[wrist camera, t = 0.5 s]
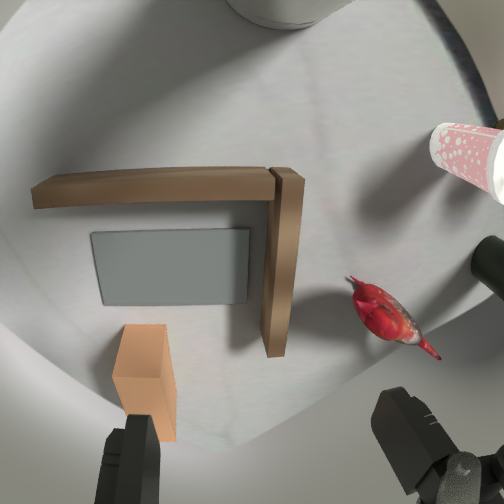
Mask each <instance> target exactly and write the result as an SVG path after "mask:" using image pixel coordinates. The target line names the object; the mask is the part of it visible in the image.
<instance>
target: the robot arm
mask: <svg viewBox="0 0 504 504" xmlns="http://www.w3.org/2000/svg"><path fill="white" fill-rule="evenodd" d="M226 1H227V2H228V3H229V5H230V6H231V7H232V8H233V9H234V10H235V11H236V12H237V13H239V14H240V15H241V16H242V17H244V18H246V19H248V20H249V21H251V22H253V23H255V24H258V25H261V26H264V27H267V28H272V29H277V30H295V29H301V28H305V27H308V26H311V25H314V24H315V23H317V22H319V21H320V20H322V19H324V18H325V17H327V16H328V15H330V14H332V13H333V12H335V11H337V10H339V9H341V8H342V7H344V6H346V5H347V4H349V3H351V2H352V1H354V0H226ZM371 428H372V431H373V433H374V435H375V437H376V439H377V440H378V442H379V444H380V446H381V448H382V450H383V451H384V453H385V455H386V457H387V459H388V461H389V463H390V464H391V466H392V468H393V470H394V472H395V474H396V476H397V477H398V480H399V482H400V483H401V485H402V487H403V489H404V491H405V493H406V495H410V494H412V493H414V492H418V493H419V495H420V496H419V497H418V499H417V502H416V504H504V499H503V498H502V496H501V494H500V492H499V491H500V490H501V489H502V488H503V489H504V445H503V446H501V447H500V448H499V450H498V451H497V452H496V453H495V454H492V455H487V456H481V457H476V456H475V455H474V454H472V453H470V452H466V451H459V450H458V449H457V447H456V446H455V444H454V443H453V442H452V440H451V439H450V437H449V436H448V434H447V433H446V432H445V430H444V429H443V427H442V426H441V425H440V423H438V422H437V419H436V418H435V416H434V415H432V412H431V411H430V410H429V408H428V407H427V406H426V404H425V403H423V402H422V401H420V400H419V399H418V398H416V397H415V396H414V397H410V395H409V394H408V393H407V391H406V390H405V389H404V388H403V387H396V388H392V389H389V390H384V391H382V392H381V394H380V396H379V399H378V401H377V404H376V407H375V410H374V412H373V414H372V417H371ZM101 463H102V466H101V468H100V473H99V479H98V484H97V490H96V497H95V502H94V504H159V478H160V443H159V439H158V436H157V433H156V429H155V426H154V423H153V419H152V416H151V415H144V414H128V416H127V420H126V426H125V429H118V428H117V429H116V428H114V429H113V431H112V433H111V434H110V435H109V436H108V438H107V439H106V442H105V447H104V455H103V457H102V462H101Z"/></svg>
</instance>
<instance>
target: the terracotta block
mask: <svg viewBox="0 0 504 504" xmlns="http://www.w3.org/2000/svg"><path fill="white" fill-rule="evenodd" d="M112 379H113V381H114V384H115V387H116V390H117V392H118V395H119V398H120V400H121V403H122V406H123V408H124V411H125V413H126V416H128V414H144V415H151V416H152V419H153V423H154V426H155V429H156V433H157V436H158V439H159V442H176V402H177V390H176V385H175V379H174V374H173V368H172V362H171V356H170V349H169V343H168V336H167V329H166V324H158V325H137V324H125V328H124V331H123V335H122V338H121V342H120V346H119V350H118V354H117V358H116V362H115V366H114V370H113V374H112Z"/></svg>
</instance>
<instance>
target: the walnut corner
mask: <svg viewBox="0 0 504 504" xmlns="http://www.w3.org/2000/svg"><path fill="white" fill-rule="evenodd" d="M304 184H305V179H304V178H303V177H301V176H300V175H299V174H298V173H296V172H295V171H294V170H292V169H291V168H283V167H271V173H270V172H269V171H268V170H267V169H266V168H265V167H168V168H144V169H126V170H111V171H98V172H86V173H75V174H65V175H56V176H52V177H50V178H49V179H47V180H45V181H43V182H42V183H40V184H38V185H37V186H35V187H33V188H32V189H31V192H32V199H33V206H34V209H42V208H54V207H68V206H83V205H99V204H118V203H140V202H168V201H215V200H269V208H268V224H267V240H266V255H265V270H264V284H263V299H262V312H261V326H260V331H261V335H262V338H263V342H264V346H265V350H266V354H267V358H271V357H283V356H284V355H285V348H286V341H287V333H288V326H289V319H290V311H291V304H292V296H293V288H294V279H295V271H296V263H297V254H298V245H299V235H300V226H301V216H302V206H303V195H304Z"/></svg>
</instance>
